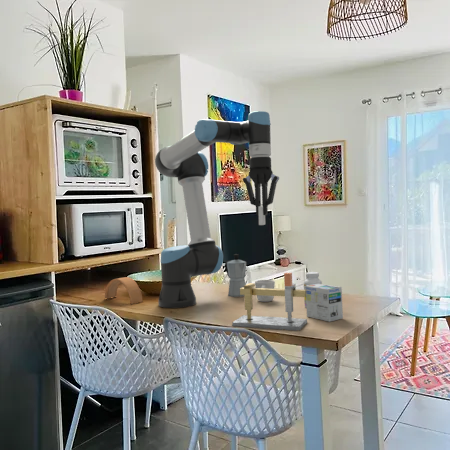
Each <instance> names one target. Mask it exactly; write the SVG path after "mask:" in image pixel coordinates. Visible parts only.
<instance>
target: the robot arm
mask: <svg viewBox="0 0 450 450" xmlns="http://www.w3.org/2000/svg"><path fill="white" fill-rule="evenodd" d="M271 125H272V124H271V118H270V113H269V112H268V111H263V110H262V111H261V110H258V111H257V110H255V111H250V113H248V116H247V120H246V121H227V120H216V119H211V118H206V119H205V118H203V119H202V118H201V119H198V121H196V124H195V125H194V130H192V131H191V132H190V133H188V134H187V135H185V136H183V137H182V138H180V139H179V140H177V141H176V142H175V143H173V144H172V145H169V146H168V145H167V146H164V147H163V148H161V149H160V150H159V151H158V152H157V154H156V156H155V159H154V163H155V167H156V169H157V171H158V172H159V173H160V174H161V175H163V176H165V177H168V178H176V179H177V182H178V184H179V185H180V186H182V191H183V192H182V193H183V197H184V199H183V200H184V204H185V205H184V206H185V210H186V211H185V212H186V219H187V224H188V233H189V238H190V242H189V243H188V244H186V245H185V244H182V245H181V244H180V245H176V246H175V245H174V246H170V247H167V248H164V249H162V251H161V252H160V267H161V269H160V271H161V290H160V293H159V296H158V307H161V308H164V309H165V308H166V309H178V308H187V307H192V306H195V305H196V304H197V297H196V295H195V292H194V289H193V287H192V281H191V280H192V279H191V278H192V277H197V276H203V275H204V276H205V275H212V274H216V273H218V272H219V271H220V270H221V268H222V265H223V262H224V252H223V250H222V249H221V247H220V246H219V245H217V244H216V240H215V239H213V238H212V237H211V230H210V224H209V218H208V217H209V216H208V212H207V205H206V200H205V193H204V187H203V183H204V181H205V180H206V176H208V173H209V161H208V159H207V156H206V155H205V154H204V153H203V152H201V151H202V150H205V149H206V148H208V147H209V146H212V145H213V144H214V143H226V144H230V145H234V146H236V145H238V146H239V145H240V146H241V145H243V144H248V148H249V149H248V152H249V155H248V156H249V157H250V158H249V172H248V175H247V176H246V177H243V178H242V181H243V182H244V184H245V187H246V188H245V189H246V190H247V195H248V199H249V202H250V204H251V205H252V206H255V215H256V216H258V226H264V225H266V216H268V214H269V212H268V208H269V207H268V206H269V205H272V204H273V202H274V197H275V193H276V188H277V183H278V182H279V180H280V177H279V176H278V175H275V174H273V173H274V172H273V170H272V157H271V156H272V147H271V146H272V145H271V143H272V142H271ZM251 181H252V183H254V185H253V186H254V189H253V186H252V183H251ZM269 181H271V182H270V187H269V191H268V186H269Z"/></svg>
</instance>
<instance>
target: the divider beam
mask: <svg viewBox="0 0 450 450" xmlns="http://www.w3.org/2000/svg"><path fill="white" fill-rule="evenodd" d="M240 295H244V296H243V297H244V310H245V311H246V315H247V319H251V316H252V310H253V309H254V306H253V305H254V304H253V300H254V299H253V296H257V295H263V296H274V297H285V288H274V289H269V288H256V286H255V282H254V283H253V282H250V283H246V285H244V288H240ZM306 296H307V295H306V290H304V289H299V288H298V289H297V288H296V289H293V298H294V297H295V298H304V297H306Z"/></svg>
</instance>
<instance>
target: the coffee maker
mask: <svg viewBox="0 0 450 450" xmlns="http://www.w3.org/2000/svg"><path fill="white" fill-rule="evenodd" d="M239 257H240V255H239V253H238V254H237V253H235V254H233V258H234V259H231V260H227V261H225V263H224V269H225V272H226V275H227V277H228V278H229V285H228V291H227V292H228V294H227V296H228V297H231V298H243V297H244V295H240V288H244V285H247V283H246V280H245V278H246V270H247V261H245V260H242V259H239Z"/></svg>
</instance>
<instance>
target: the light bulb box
mask: <svg viewBox="0 0 450 450" xmlns="http://www.w3.org/2000/svg"><path fill="white" fill-rule="evenodd" d="M342 288H343V287H342V286H338V285H330V284H323V283H322V284H314V285H307V286H306V295H307V296H306V307H305V308H306V317H308V318H313V319H316V320H319V321H325V322H330V323H331V322H333V321H337V320H342V319H343V318H344V314H343V313H344V311H343V294H342V293H343V291H342V290H343V289H342Z"/></svg>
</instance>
